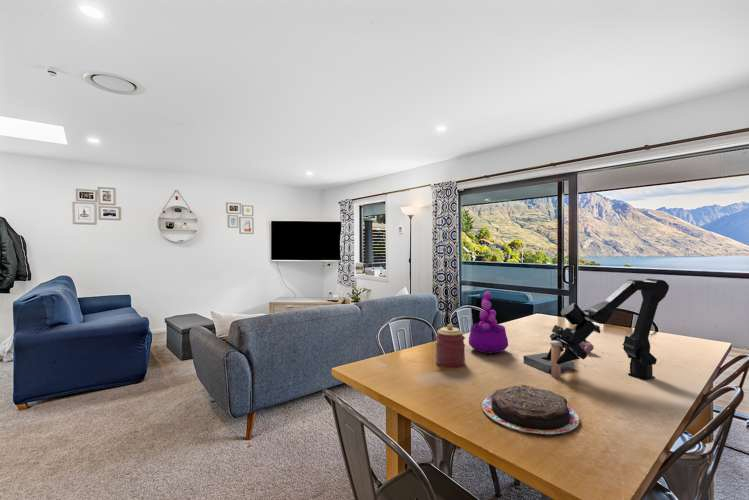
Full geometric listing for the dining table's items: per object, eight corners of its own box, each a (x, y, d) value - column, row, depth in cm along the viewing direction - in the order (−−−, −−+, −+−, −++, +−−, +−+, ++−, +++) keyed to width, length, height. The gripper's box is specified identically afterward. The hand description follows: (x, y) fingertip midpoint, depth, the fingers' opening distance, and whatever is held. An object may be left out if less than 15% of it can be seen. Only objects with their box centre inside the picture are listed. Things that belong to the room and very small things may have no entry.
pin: (564, 378, 139) (563, 342, 139) (556, 379, 137) (555, 343, 137) (555, 374, 143) (555, 340, 142) (548, 375, 141) (547, 341, 141)
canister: (462, 358, 164) (462, 321, 164) (467, 368, 151) (466, 327, 151) (434, 358, 165) (434, 320, 165) (436, 367, 152) (436, 327, 152)
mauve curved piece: (590, 358, 167) (597, 345, 167) (582, 354, 167) (588, 341, 167) (578, 352, 177) (585, 340, 177) (570, 348, 177) (576, 336, 177)
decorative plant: (511, 358, 164) (510, 294, 164) (470, 356, 168) (469, 293, 168) (504, 346, 183) (504, 289, 182) (467, 345, 186) (467, 288, 186)
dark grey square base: (574, 368, 149) (574, 361, 149) (548, 372, 144) (548, 365, 144) (548, 359, 162) (548, 352, 162) (523, 362, 158) (523, 355, 158)
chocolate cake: (465, 414, 110) (465, 393, 110) (505, 388, 130) (505, 371, 130) (561, 450, 90) (561, 425, 90) (591, 413, 110) (591, 392, 110)
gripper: (554, 314, 149) (528, 340, 149) (578, 323, 130) (549, 353, 131) (573, 332, 149) (547, 358, 149) (600, 344, 130) (570, 374, 131)
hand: (552, 360), depth 140 cm, fingers open, 7 cm apart
